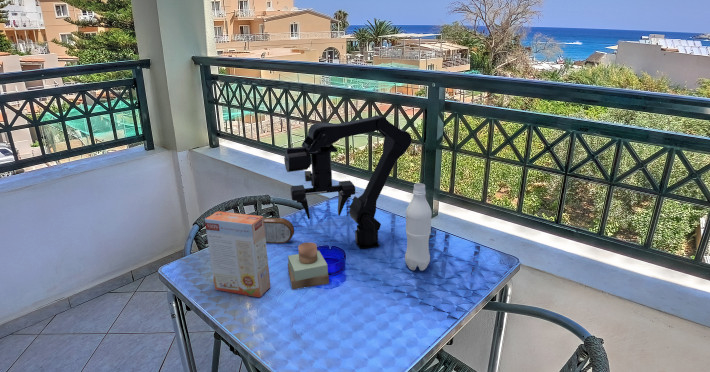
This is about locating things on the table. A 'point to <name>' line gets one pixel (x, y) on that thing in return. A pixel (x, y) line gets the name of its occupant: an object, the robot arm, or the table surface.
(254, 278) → the cracker box
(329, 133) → the robot arm
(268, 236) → the tin
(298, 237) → the table surface
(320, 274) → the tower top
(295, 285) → the tower base
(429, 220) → the water bottle
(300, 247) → the puck
